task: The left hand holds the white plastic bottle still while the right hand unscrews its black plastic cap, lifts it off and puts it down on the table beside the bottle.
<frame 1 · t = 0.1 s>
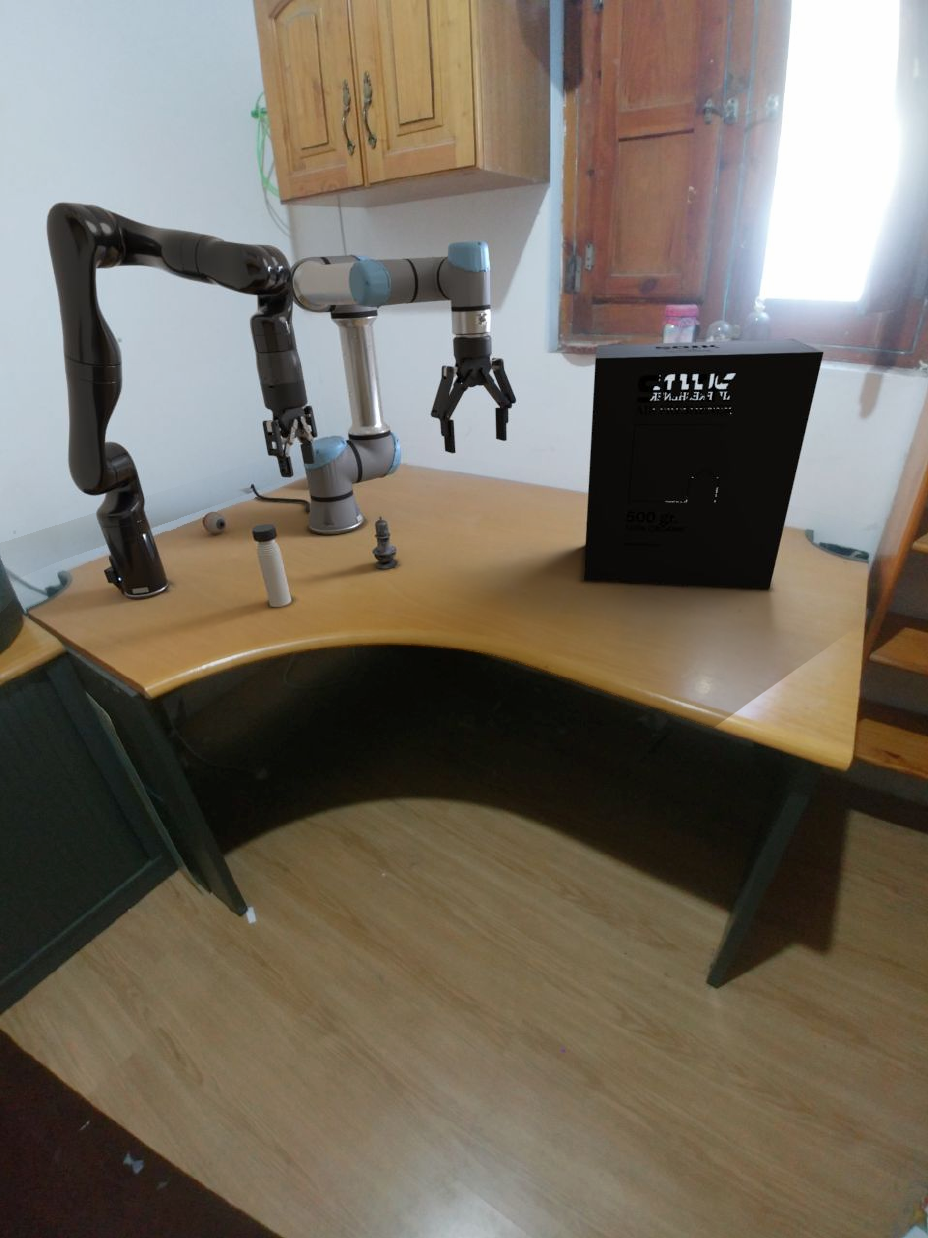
left hand: (298, 469, 113), 29 cm above the table, tool pointing down, fingers open, 8 cm apart
right hand: (476, 445, 127), 28 cm above the table, tool pointing down, fingers open, 13 cm apart
grey tall turned piece: (386, 564, 145), on the table
bottle: (280, 602, 131), on the table
cap: (263, 529, 122), point 17 cm above the table, screwed on, not yet turned
cardboard box: (669, 565, 136), on the table
eyeball: (217, 533, 169), on the table
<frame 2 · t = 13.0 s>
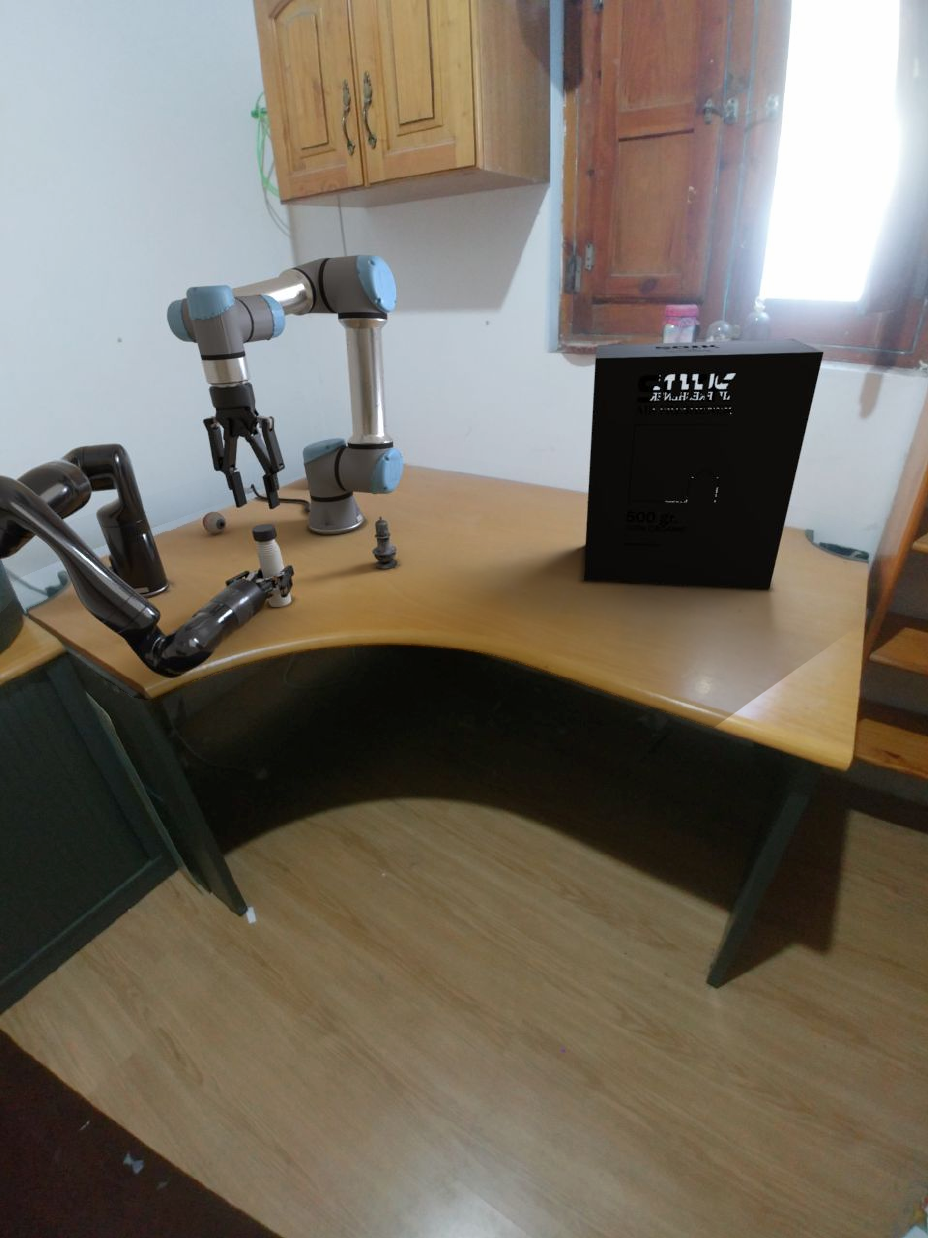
left hand: (280, 568, 129), 7 cm above the table, tool horizontal, fingers closed on bottle, 4 cm apart
right hand: (258, 505, 120), 22 cm above the table, tool pointing down, fingers open, 7 cm apart
bottle: (280, 602, 131), on the table, touching left hand
everything else where it was.
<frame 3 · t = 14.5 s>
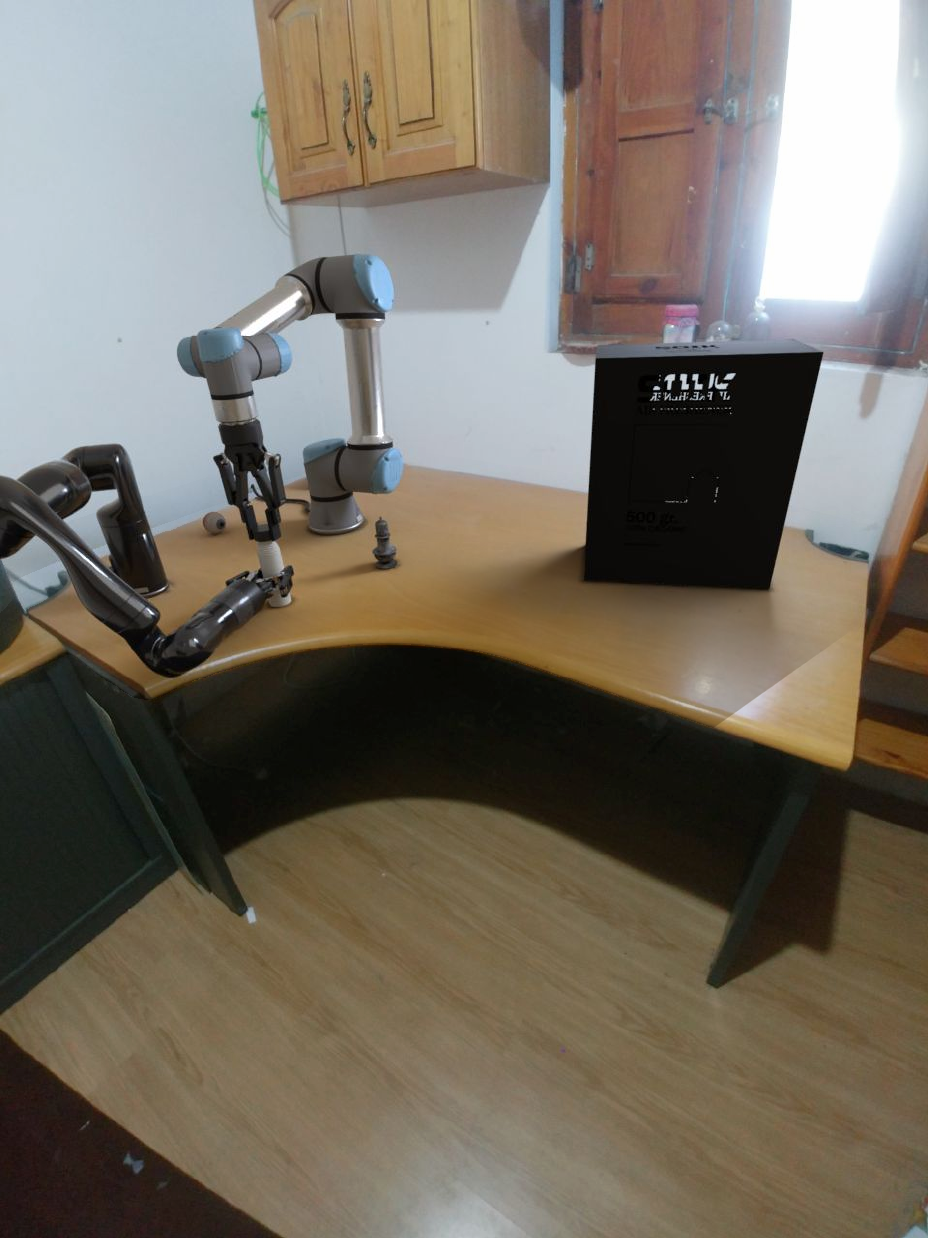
left hand: (280, 568, 129), 7 cm above the table, tool horizontal, fingers closed on bottle, 4 cm apart
right hand: (265, 537, 123), 15 cm above the table, tool pointing down, fingers closed on cap, 4 cm apart
bottle: (280, 602, 131), on the table, touching left hand
cap: (263, 529, 122), point 17 cm above the table, screwed on, not yet turned, touching right hand
everything else where it was.
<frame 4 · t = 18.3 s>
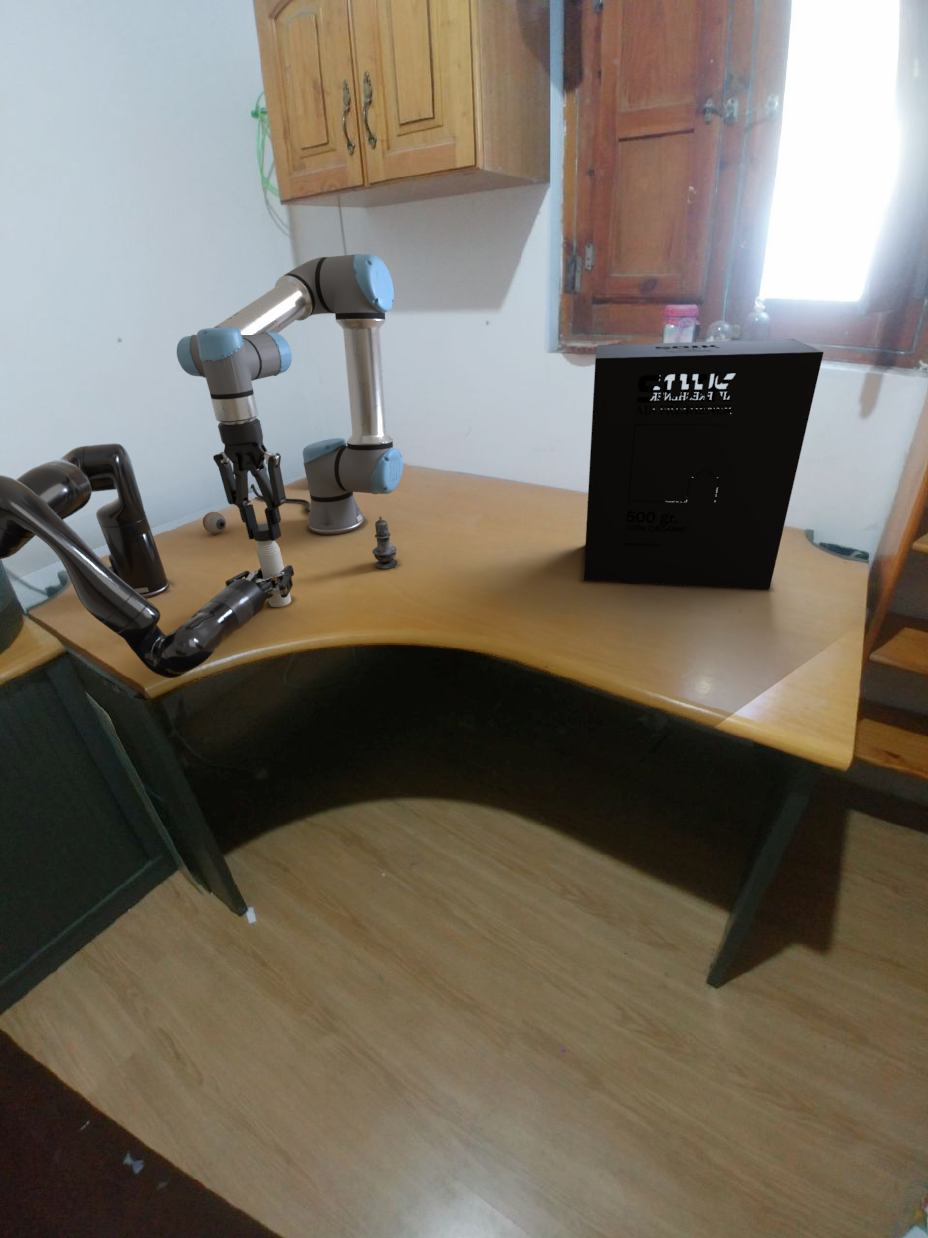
left hand: (280, 568, 129), 7 cm above the table, tool horizontal, fingers closed on bottle, 4 cm apart
right hand: (265, 537, 123), 15 cm above the table, tool pointing down, fingers closed on cap, 4 cm apart
bottle: (280, 602, 131), on the table, touching left hand
cap: (263, 528, 122), point 17 cm above the table, turned 133° so far, risen 0.1 cm, still on its thread, touching right hand
everything else where it was.
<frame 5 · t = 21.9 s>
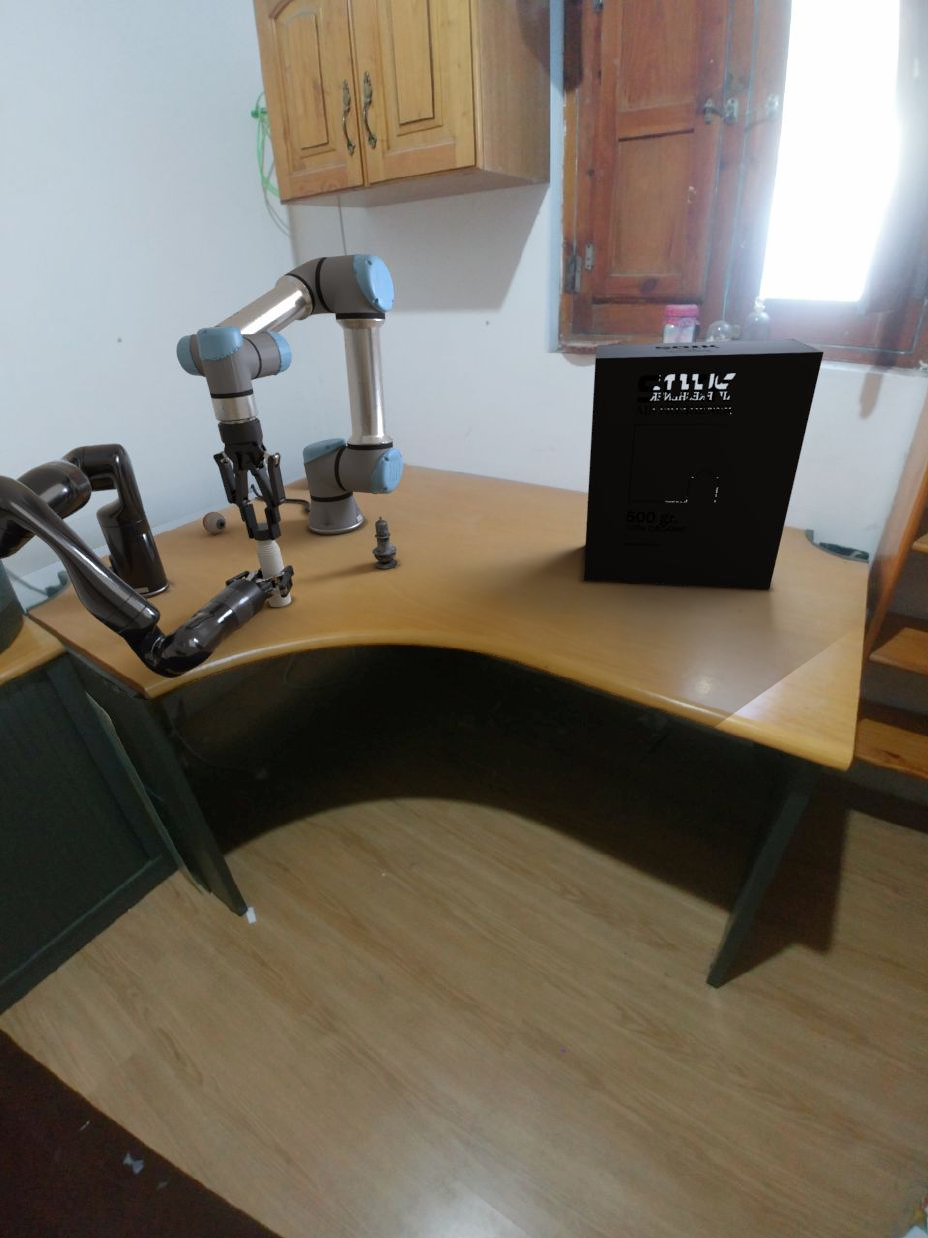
left hand: (280, 568, 129), 7 cm above the table, tool horizontal, fingers closed on bottle, 4 cm apart
right hand: (265, 536, 123), 15 cm above the table, tool pointing down, fingers closed on cap, 4 cm apart
bottle: (280, 602, 131), on the table, touching left hand
cap: (263, 527, 122), point 17 cm above the table, turned 266° so far, risen 0.2 cm, still on its thread, touching right hand
everything else where it was.
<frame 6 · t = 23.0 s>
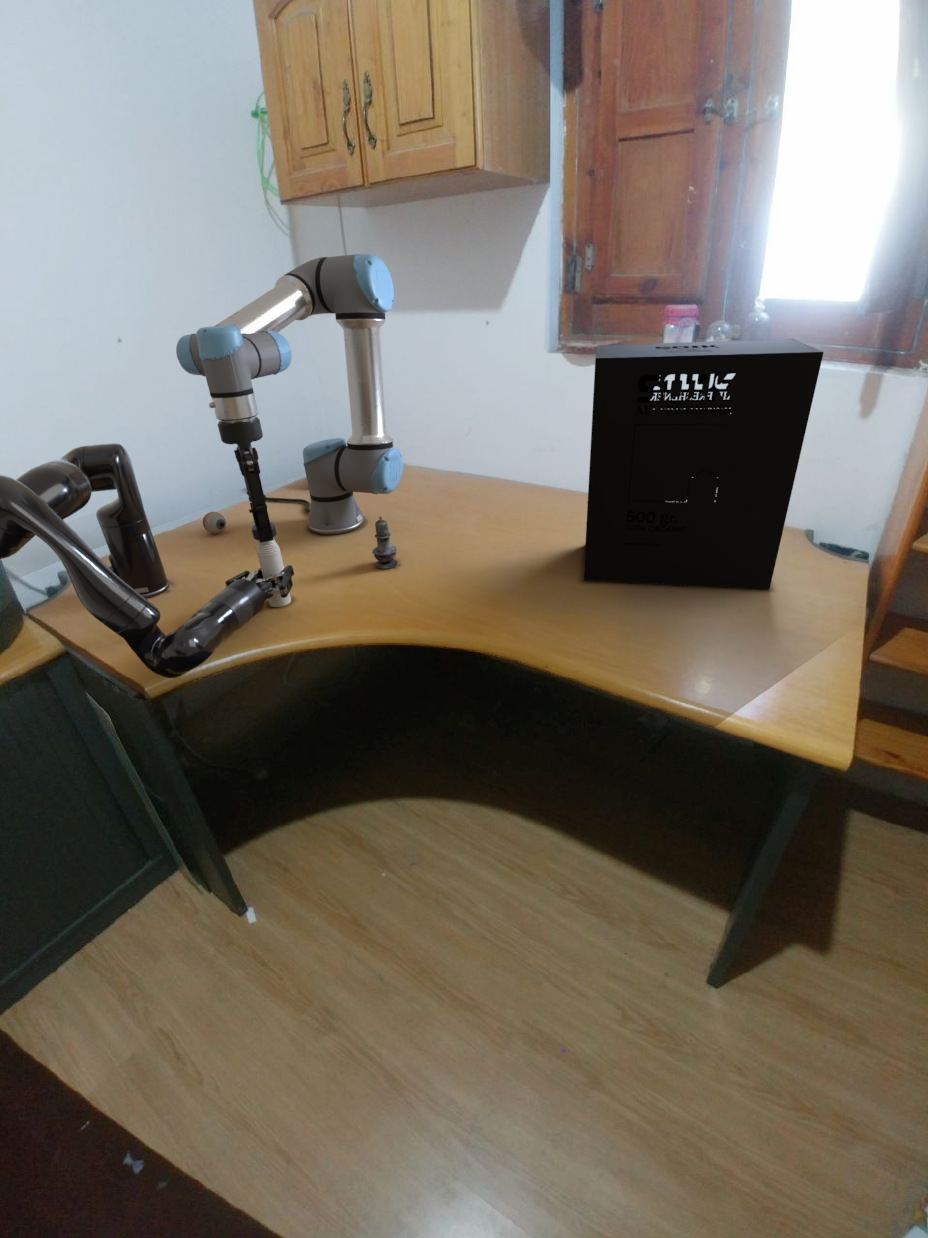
left hand: (280, 568, 129), 7 cm above the table, tool horizontal, fingers closed on bottle, 4 cm apart
right hand: (265, 536, 123), 15 cm above the table, tool pointing down, fingers closed on cap, 4 cm apart
bottle: (280, 602, 131), on the table, touching left hand
cap: (263, 527, 122), point 17 cm above the table, off its thread, touching right hand
everything else where it was.
when the right hand's fingers open (2 cm above the table, at t = 28.9 s): cap drops 2 cm, point 2 cm above the table.
when the left hand's fingers open (7 cm above the table, at t = 30.2 s): bottle stays where it is, on the table.
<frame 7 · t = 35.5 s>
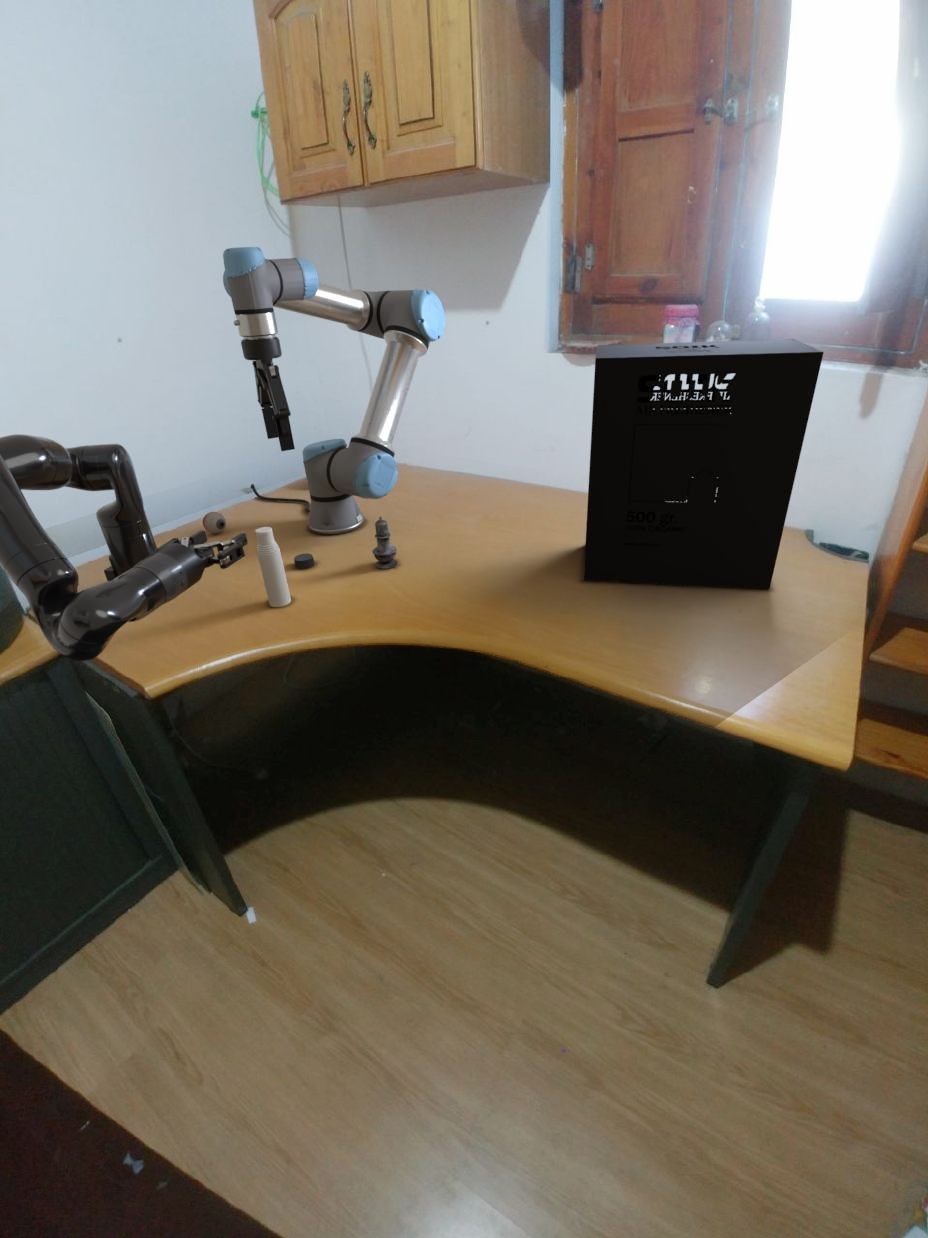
left hand: (224, 536, 111), 20 cm above the table, tool horizontal, fingers open, 8 cm apart
right hand: (280, 443, 132), 29 cm above the table, tool pointing down, fingers open, 13 cm apart
bottle: (280, 602, 131), on the table
cap: (303, 558, 146), point 2 cm above the table, off its thread
everything else where it was.
at the end: cap came off its thread; cap point 1.9 cm above the table; the left hand is holding nothing; the right hand is holding nothing; bottle tilted 0°; bottle moved 0.1 cm from its start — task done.
